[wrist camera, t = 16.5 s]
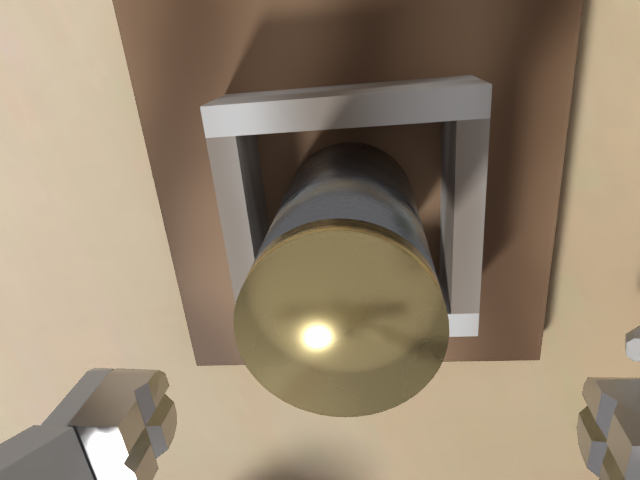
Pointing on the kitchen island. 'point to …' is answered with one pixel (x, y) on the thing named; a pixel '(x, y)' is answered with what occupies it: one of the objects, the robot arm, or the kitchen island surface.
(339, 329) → the gold and grey cylinder
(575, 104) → the kitchen island surface
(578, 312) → the kitchen island surface
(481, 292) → the collar board
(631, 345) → the wrench
